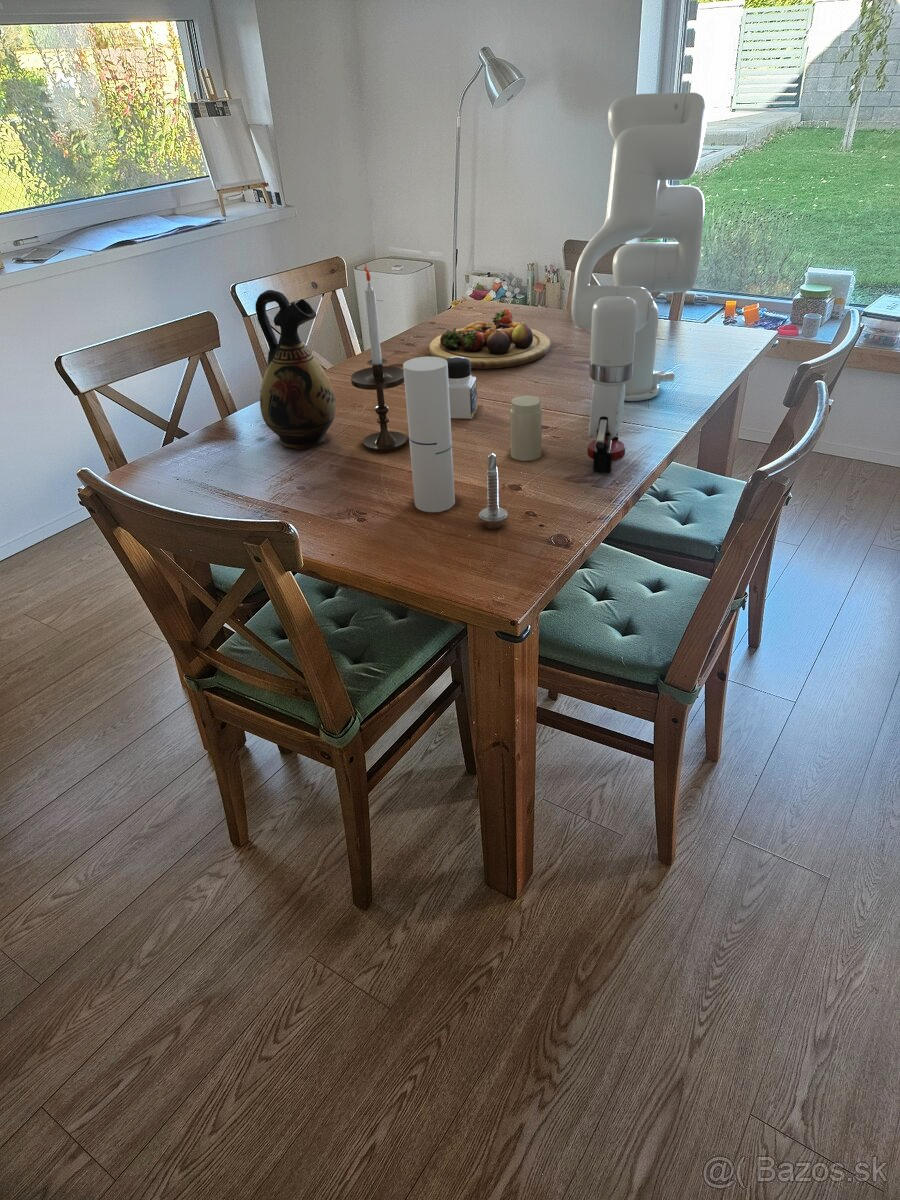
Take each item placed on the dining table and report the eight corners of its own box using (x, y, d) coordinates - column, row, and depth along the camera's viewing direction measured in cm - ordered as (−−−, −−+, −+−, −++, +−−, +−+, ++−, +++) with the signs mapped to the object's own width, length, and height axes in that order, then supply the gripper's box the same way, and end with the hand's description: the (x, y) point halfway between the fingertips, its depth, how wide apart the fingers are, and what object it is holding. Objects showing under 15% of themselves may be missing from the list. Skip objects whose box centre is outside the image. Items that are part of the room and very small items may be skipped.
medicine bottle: (471, 419, 177) (469, 364, 170) (439, 418, 178) (436, 364, 172) (477, 407, 183) (475, 354, 176) (446, 406, 184) (443, 353, 178)
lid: (594, 463, 150) (594, 454, 149) (582, 449, 156) (583, 440, 155) (629, 459, 151) (630, 450, 150) (617, 445, 157) (617, 436, 156)
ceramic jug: (352, 428, 176) (334, 283, 159) (320, 458, 164) (297, 304, 147) (282, 422, 181) (258, 281, 164) (246, 450, 169) (216, 300, 152)
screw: (513, 523, 137) (496, 535, 135) (491, 515, 140) (473, 526, 137) (513, 451, 130) (494, 462, 127) (489, 444, 133) (470, 455, 130)
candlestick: (352, 440, 171) (330, 262, 151) (400, 429, 174) (385, 255, 155) (368, 458, 163) (347, 273, 143) (419, 447, 166) (405, 265, 146)
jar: (536, 446, 163) (536, 393, 157) (545, 458, 158) (546, 404, 152) (507, 450, 162) (506, 397, 156) (515, 462, 158) (514, 408, 151)
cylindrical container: (413, 495, 148) (402, 358, 134) (453, 492, 148) (445, 355, 134) (415, 513, 142) (403, 372, 128) (456, 510, 142) (449, 368, 129)
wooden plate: (474, 327, 235) (473, 298, 231) (572, 342, 219) (573, 310, 214) (405, 359, 214) (402, 327, 210) (508, 378, 198) (507, 343, 193)
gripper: (598, 354, 153) (593, 444, 162) (580, 385, 139) (576, 481, 149) (639, 356, 150) (631, 447, 160) (624, 388, 137) (617, 485, 147)
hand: (605, 463), depth 155 cm, fingers closed on lid, 6 cm apart
